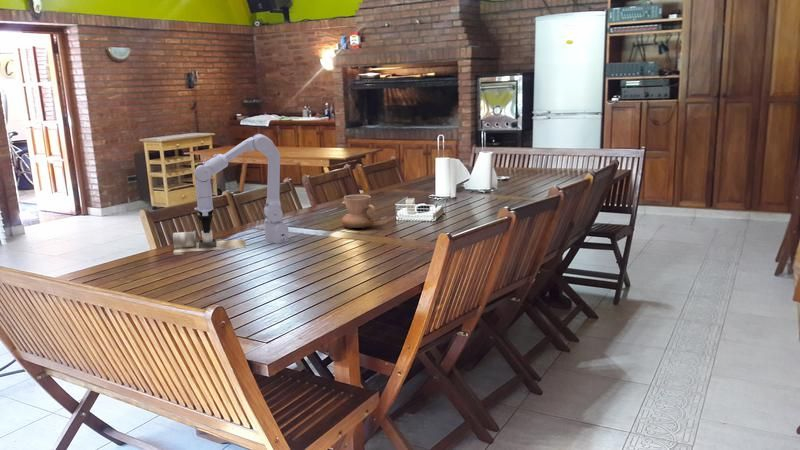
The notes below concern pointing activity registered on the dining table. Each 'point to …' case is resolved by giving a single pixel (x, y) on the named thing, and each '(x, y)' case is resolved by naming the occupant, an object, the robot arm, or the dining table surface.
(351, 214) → the ceramic jug
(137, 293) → the dining table surface
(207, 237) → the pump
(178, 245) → the motor mount
